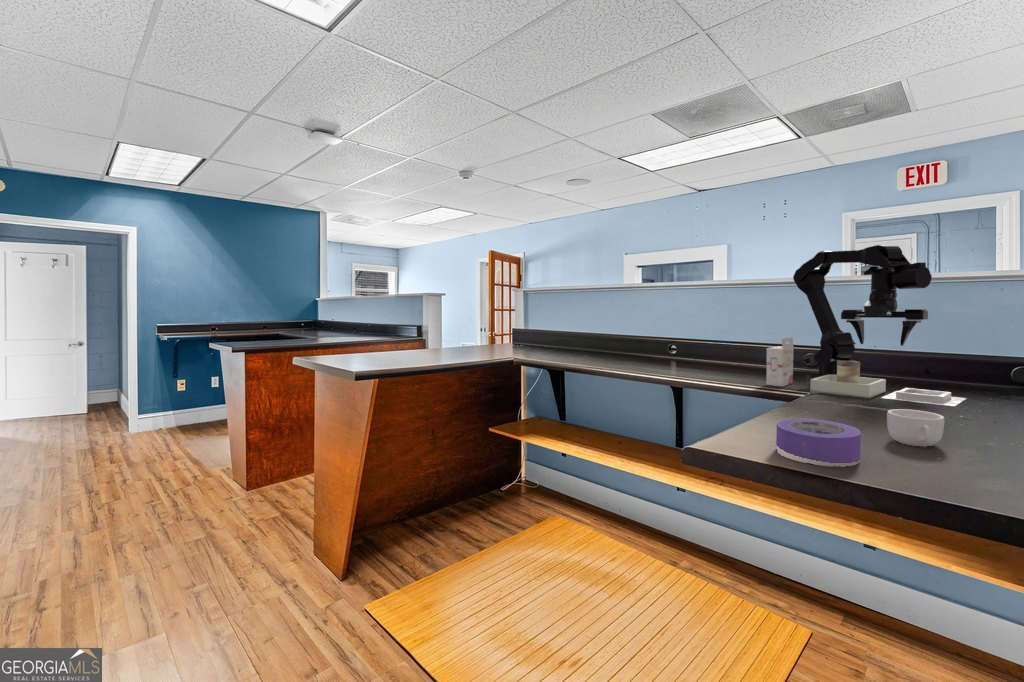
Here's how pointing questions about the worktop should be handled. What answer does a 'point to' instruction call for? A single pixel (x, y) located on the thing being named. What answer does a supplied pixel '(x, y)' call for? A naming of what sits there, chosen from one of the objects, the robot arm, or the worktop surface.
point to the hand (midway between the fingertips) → (881, 344)
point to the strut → (848, 371)
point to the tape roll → (819, 440)
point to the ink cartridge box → (780, 364)
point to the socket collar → (925, 396)
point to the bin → (848, 386)
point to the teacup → (915, 427)
